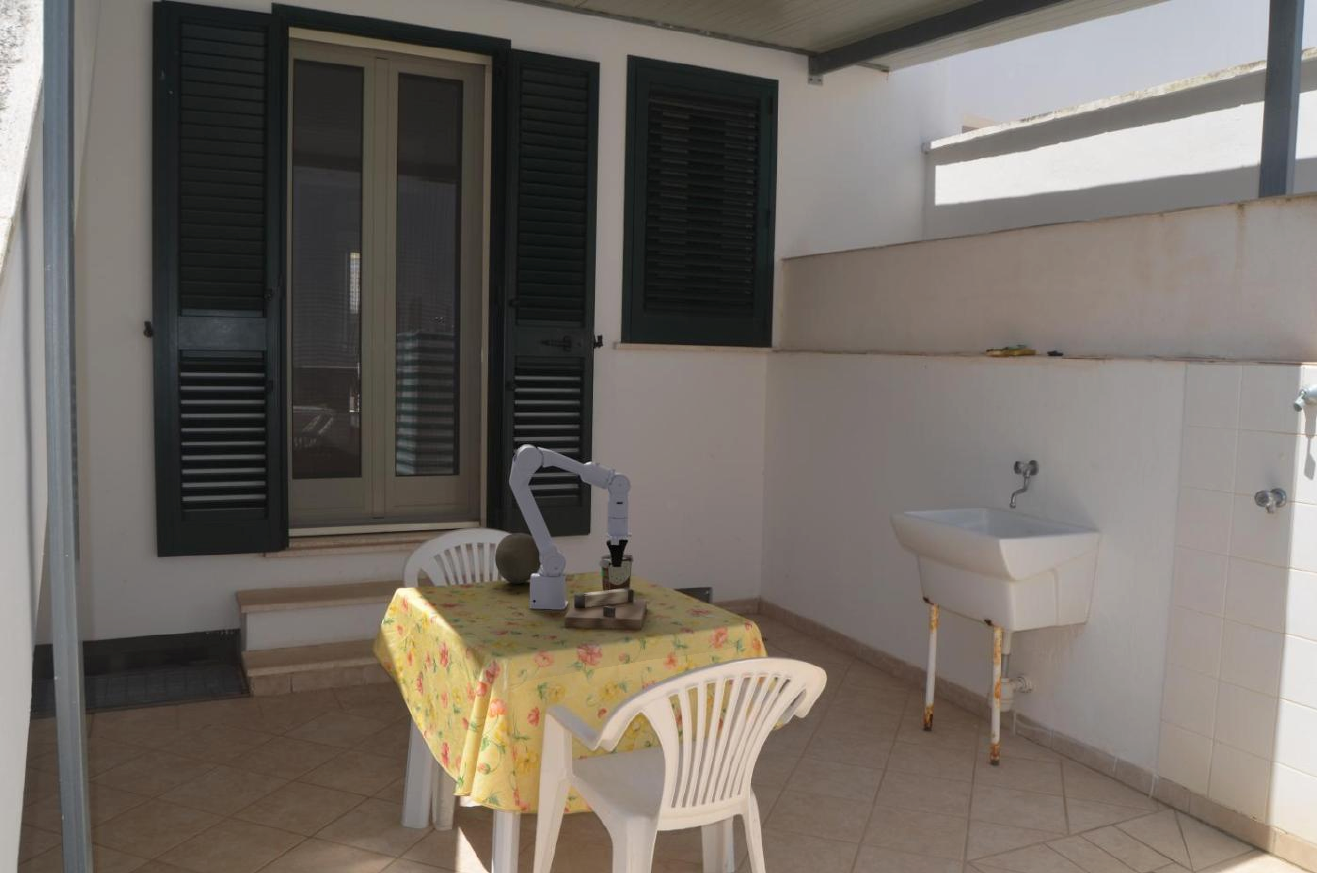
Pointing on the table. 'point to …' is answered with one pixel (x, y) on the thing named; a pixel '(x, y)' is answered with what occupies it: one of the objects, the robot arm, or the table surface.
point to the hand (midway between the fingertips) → (616, 566)
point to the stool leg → (603, 597)
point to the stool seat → (608, 615)
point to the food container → (616, 573)
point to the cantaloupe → (517, 558)
